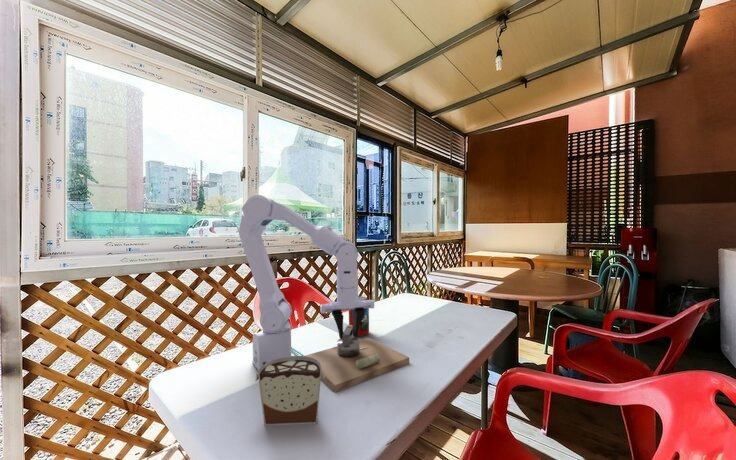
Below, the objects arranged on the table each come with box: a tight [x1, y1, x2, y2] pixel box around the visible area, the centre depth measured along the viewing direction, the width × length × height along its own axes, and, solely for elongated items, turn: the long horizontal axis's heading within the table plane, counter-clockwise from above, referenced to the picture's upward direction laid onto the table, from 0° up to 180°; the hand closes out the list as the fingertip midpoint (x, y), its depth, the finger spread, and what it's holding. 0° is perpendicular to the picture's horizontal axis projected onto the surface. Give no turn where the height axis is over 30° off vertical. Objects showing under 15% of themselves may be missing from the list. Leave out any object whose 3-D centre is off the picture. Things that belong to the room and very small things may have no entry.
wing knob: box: [336, 324, 360, 357], centre depth 79 cm, size 7×6×6 cm
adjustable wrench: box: [291, 346, 305, 356], centre depth 86 cm, size 14×1×5 cm
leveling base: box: [304, 337, 410, 393], centre depth 76 cm, size 22×18×4 cm
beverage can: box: [348, 295, 370, 337], centre depth 98 cm, size 7×7×12 cm
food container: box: [254, 355, 325, 427], centre depth 55 cm, size 12×6×10 cm, turn 92°
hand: (348, 336), depth 79 cm, fingers closed on wing knob, 3 cm apart
